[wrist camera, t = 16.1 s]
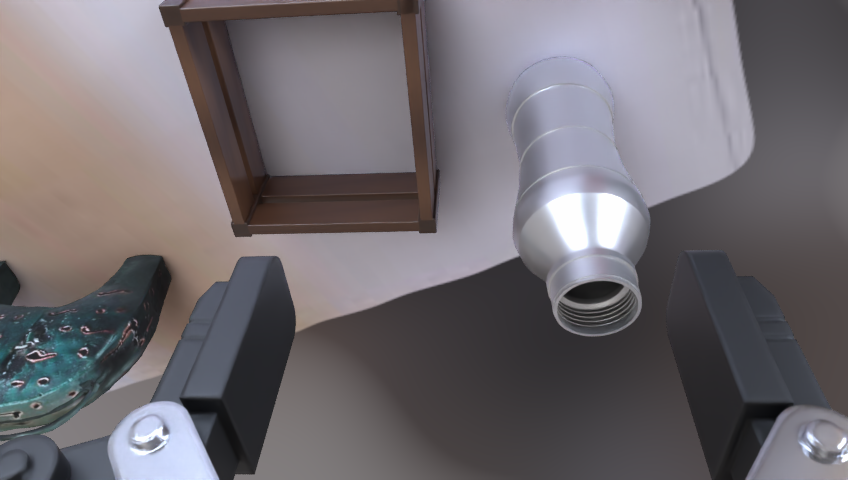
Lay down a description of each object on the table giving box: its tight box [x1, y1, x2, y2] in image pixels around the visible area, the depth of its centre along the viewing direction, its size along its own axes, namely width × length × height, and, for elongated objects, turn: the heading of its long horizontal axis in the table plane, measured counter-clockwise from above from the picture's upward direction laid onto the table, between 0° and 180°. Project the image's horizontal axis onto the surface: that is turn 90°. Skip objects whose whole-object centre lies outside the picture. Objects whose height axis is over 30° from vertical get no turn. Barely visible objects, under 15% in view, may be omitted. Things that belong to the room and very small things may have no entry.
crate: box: [159, 0, 440, 237], centre depth 41 cm, size 16×14×6 cm
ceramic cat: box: [0, 255, 171, 441], centre depth 49 cm, size 20×6×20 cm, turn 96°
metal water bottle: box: [506, 57, 650, 336], centre depth 35 cm, size 6×7×20 cm
